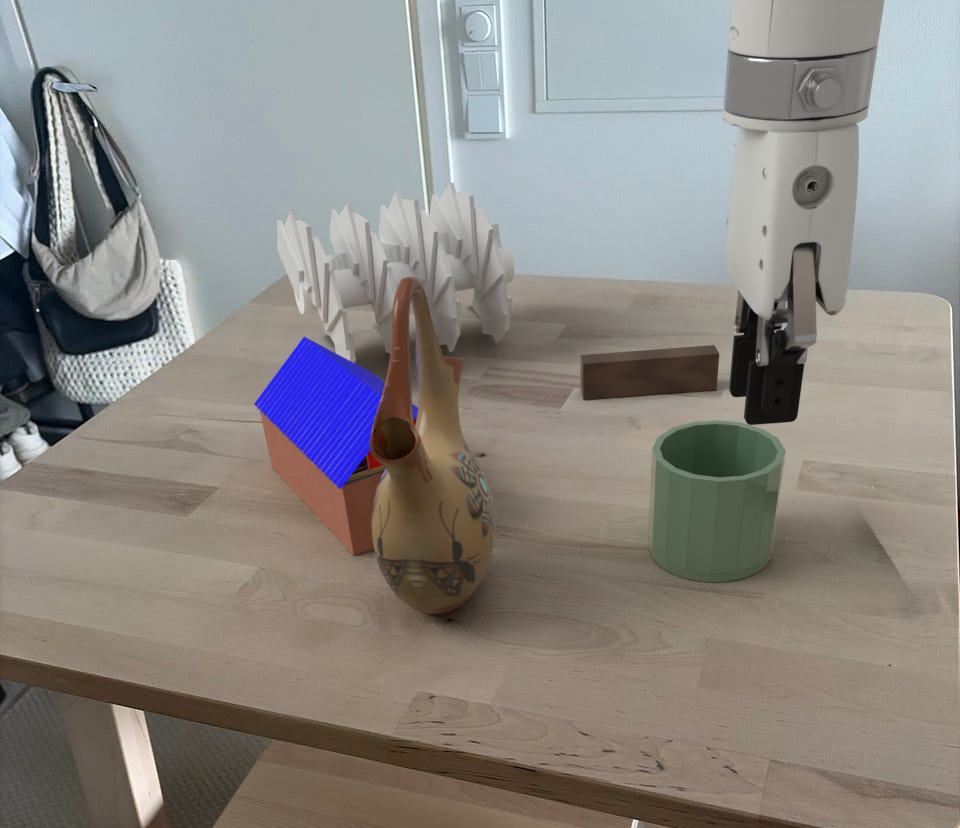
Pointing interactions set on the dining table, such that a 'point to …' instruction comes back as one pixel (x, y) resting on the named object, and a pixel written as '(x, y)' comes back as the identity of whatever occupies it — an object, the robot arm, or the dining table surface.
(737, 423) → the bucket
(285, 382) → the house
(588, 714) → the dining table surface
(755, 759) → the dining table surface
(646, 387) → the block
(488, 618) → the dining table surface
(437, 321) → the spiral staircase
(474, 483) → the ceramic vessel
